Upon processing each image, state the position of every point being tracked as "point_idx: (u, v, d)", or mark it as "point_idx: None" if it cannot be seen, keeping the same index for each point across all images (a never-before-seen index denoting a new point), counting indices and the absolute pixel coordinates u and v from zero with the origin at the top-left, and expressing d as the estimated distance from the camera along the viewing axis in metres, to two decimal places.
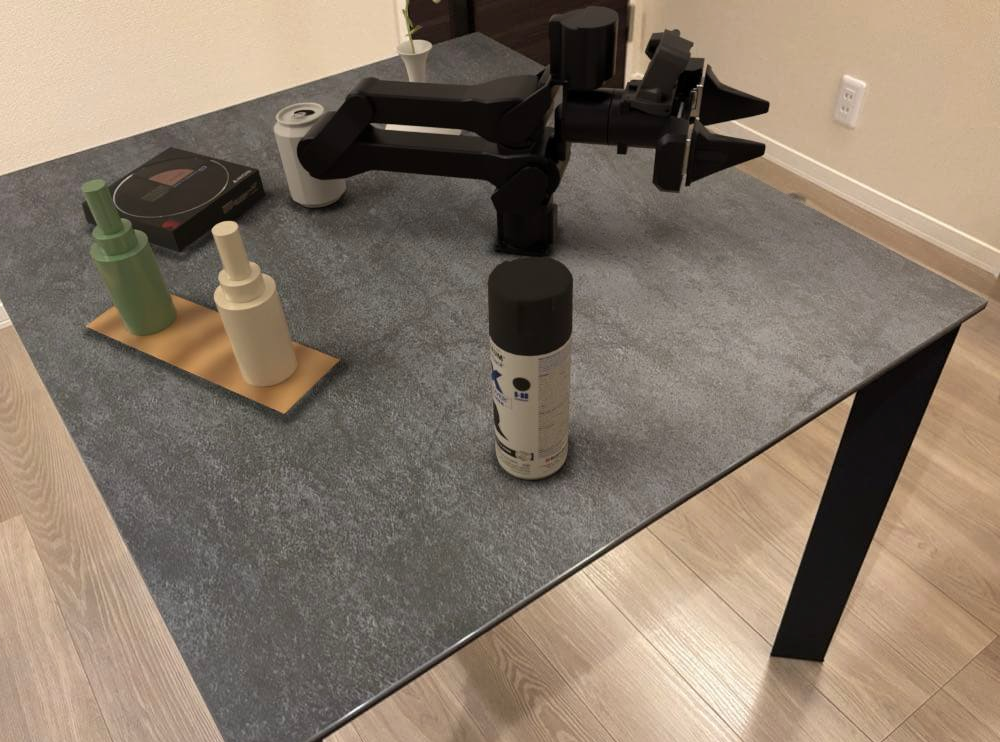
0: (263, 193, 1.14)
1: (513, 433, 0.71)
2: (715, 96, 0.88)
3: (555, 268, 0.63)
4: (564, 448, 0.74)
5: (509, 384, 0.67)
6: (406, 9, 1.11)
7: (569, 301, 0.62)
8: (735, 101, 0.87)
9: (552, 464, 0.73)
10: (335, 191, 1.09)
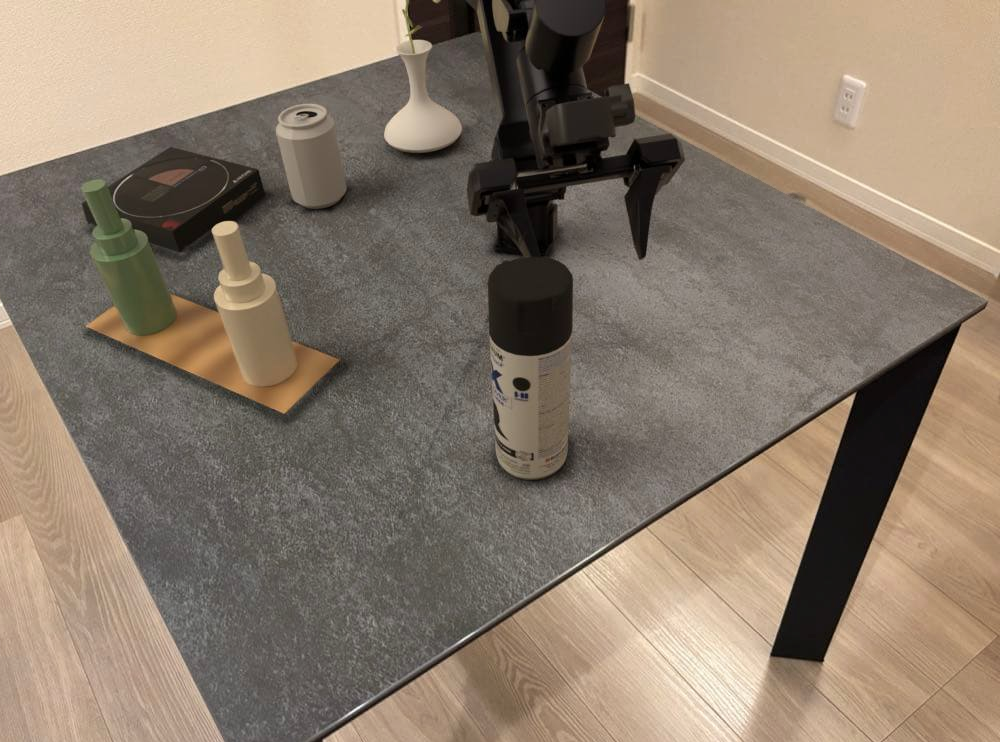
0: (263, 193, 1.14)
1: (513, 433, 0.71)
2: (635, 194, 0.73)
3: (555, 268, 0.63)
4: (564, 448, 0.74)
5: (509, 384, 0.67)
6: (406, 9, 1.11)
7: (569, 301, 0.62)
8: (636, 219, 0.73)
9: (552, 464, 0.73)
10: (336, 193, 1.09)
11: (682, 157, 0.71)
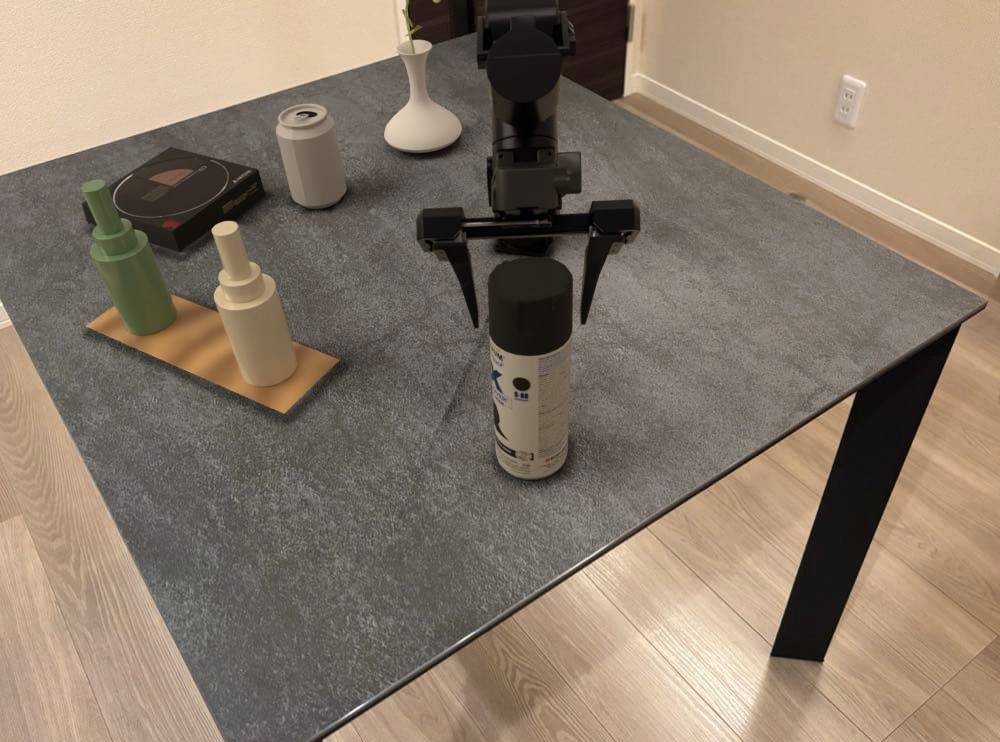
0: (263, 193, 1.14)
1: (513, 433, 0.71)
2: (586, 258, 0.70)
3: (555, 268, 0.63)
4: (564, 448, 0.74)
5: (509, 384, 0.67)
6: (406, 9, 1.11)
7: (569, 301, 0.62)
8: (583, 283, 0.71)
9: (552, 464, 0.73)
10: (336, 193, 1.09)
11: (637, 228, 0.68)
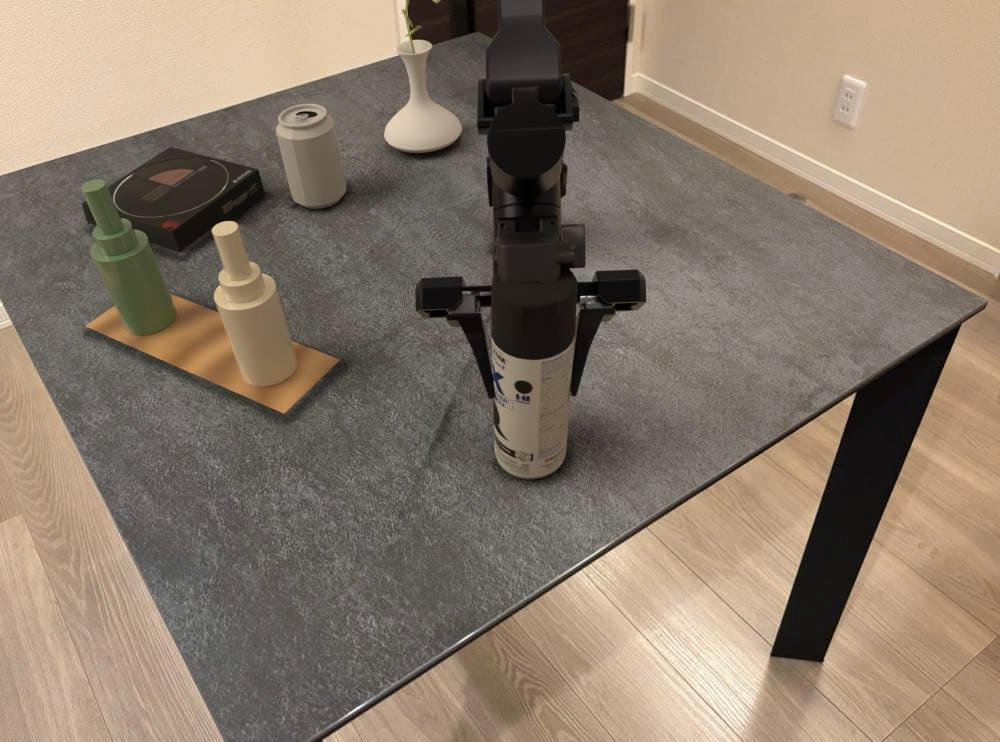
0: (263, 193, 1.14)
1: (513, 434, 0.70)
2: None
3: None
4: (563, 448, 0.74)
5: (511, 386, 0.66)
6: (406, 9, 1.11)
7: (573, 306, 0.62)
8: (573, 354, 0.69)
9: (551, 464, 0.73)
10: (336, 193, 1.09)
11: (642, 300, 0.66)
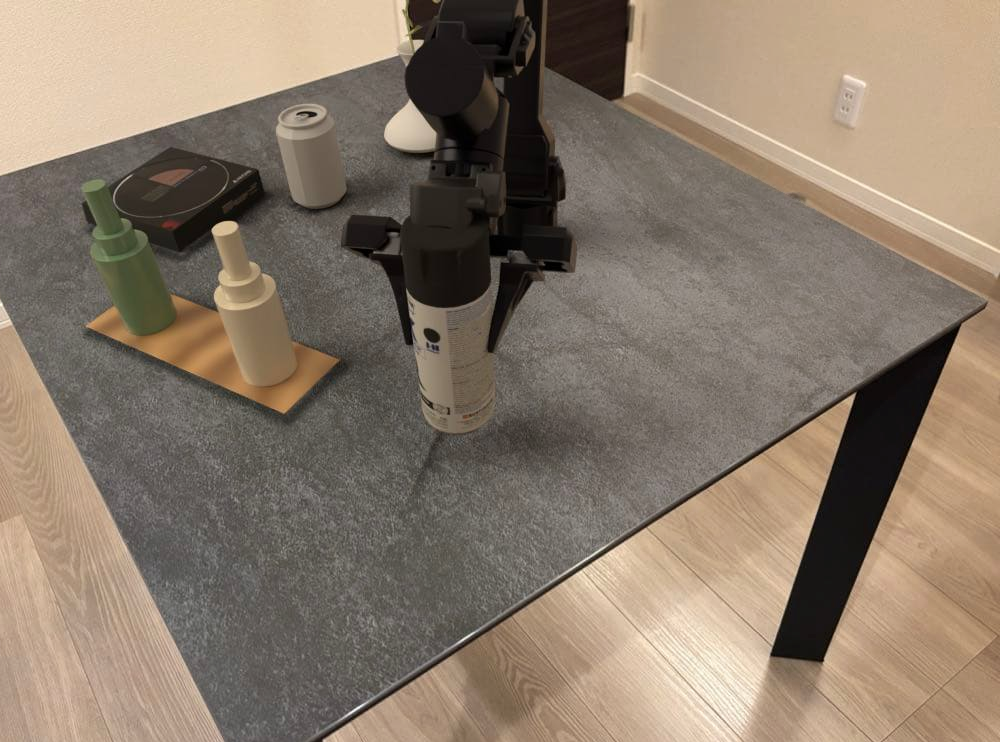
0: (263, 193, 1.14)
1: (429, 384, 0.69)
2: None
3: None
4: (486, 407, 0.72)
5: (421, 334, 0.65)
6: (406, 9, 1.11)
7: (479, 255, 0.60)
8: None
9: (471, 422, 0.72)
10: (336, 193, 1.09)
11: (565, 260, 0.63)
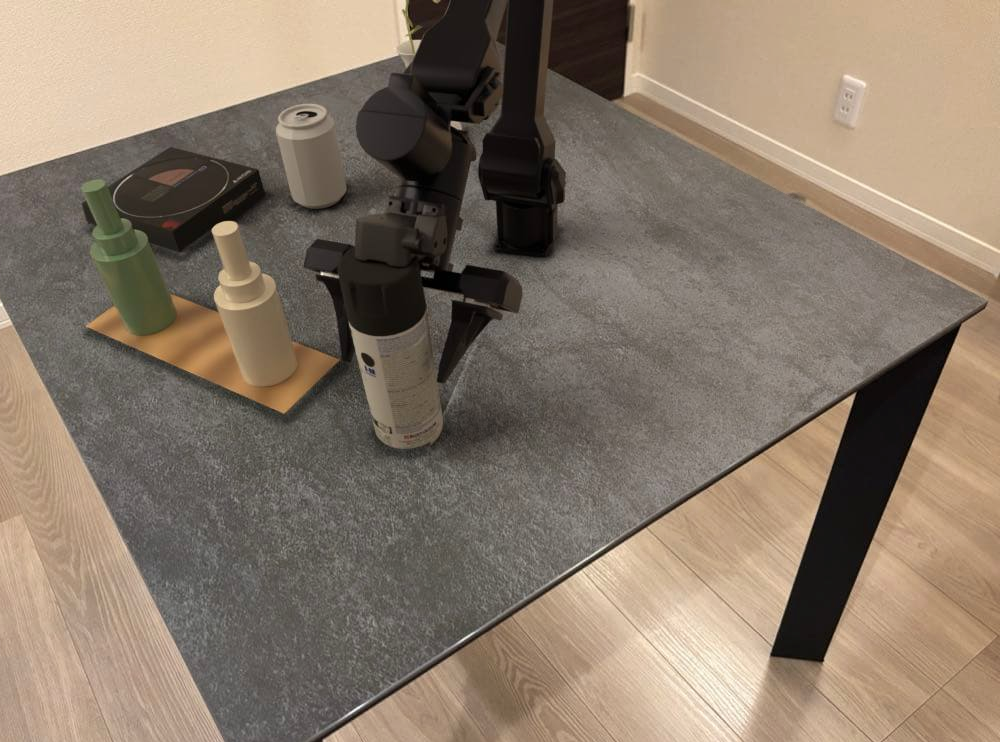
0: (263, 193, 1.14)
1: (372, 404, 0.74)
2: None
3: None
4: (428, 430, 0.76)
5: (360, 357, 0.70)
6: (406, 9, 1.11)
7: (405, 291, 0.65)
8: None
9: (413, 442, 0.77)
10: (336, 193, 1.09)
11: (498, 302, 0.67)
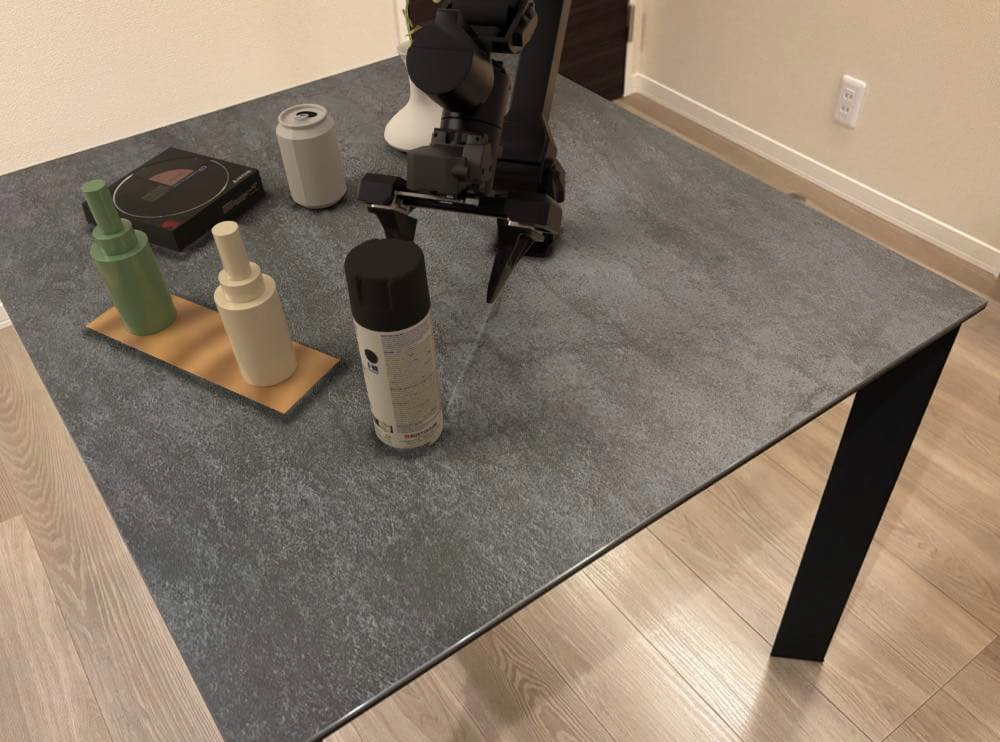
0: (263, 193, 1.14)
1: (374, 402, 0.75)
2: None
3: (411, 254, 0.66)
4: (428, 430, 0.76)
5: (363, 354, 0.71)
6: (406, 9, 1.11)
7: (411, 287, 0.65)
8: None
9: (413, 442, 0.77)
10: (336, 193, 1.09)
11: (542, 223, 0.71)
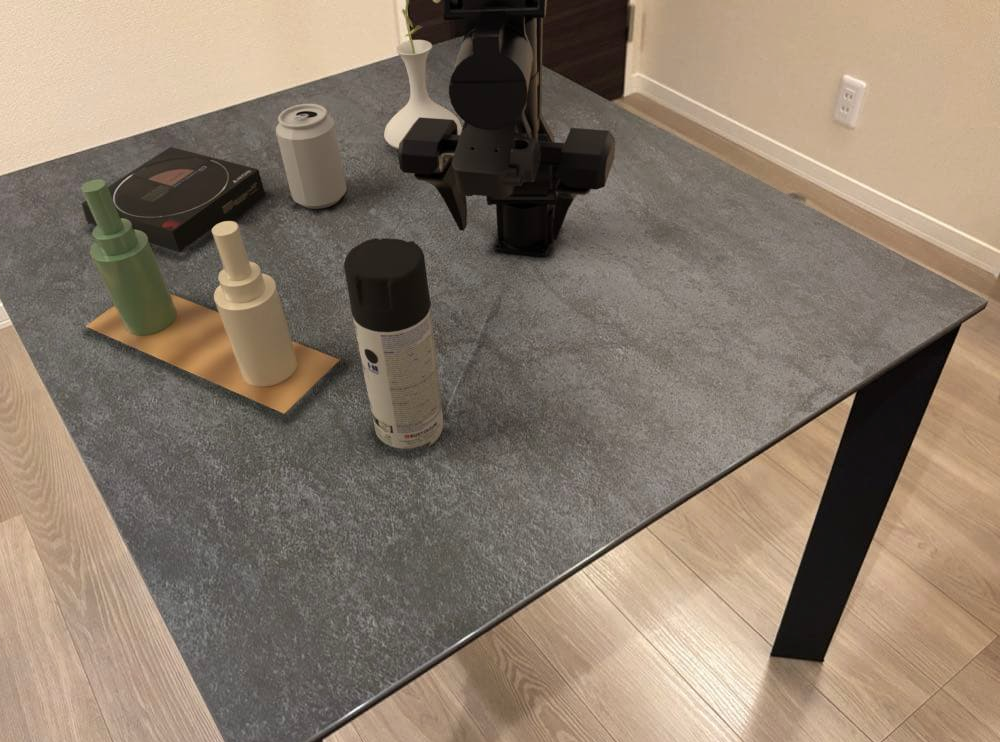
0: (263, 193, 1.14)
1: (374, 402, 0.75)
2: None
3: (411, 254, 0.66)
4: (428, 430, 0.76)
5: (363, 354, 0.71)
6: (406, 9, 1.11)
7: (411, 287, 0.65)
8: None
9: (413, 442, 0.77)
10: (336, 193, 1.09)
11: (600, 187, 0.70)
